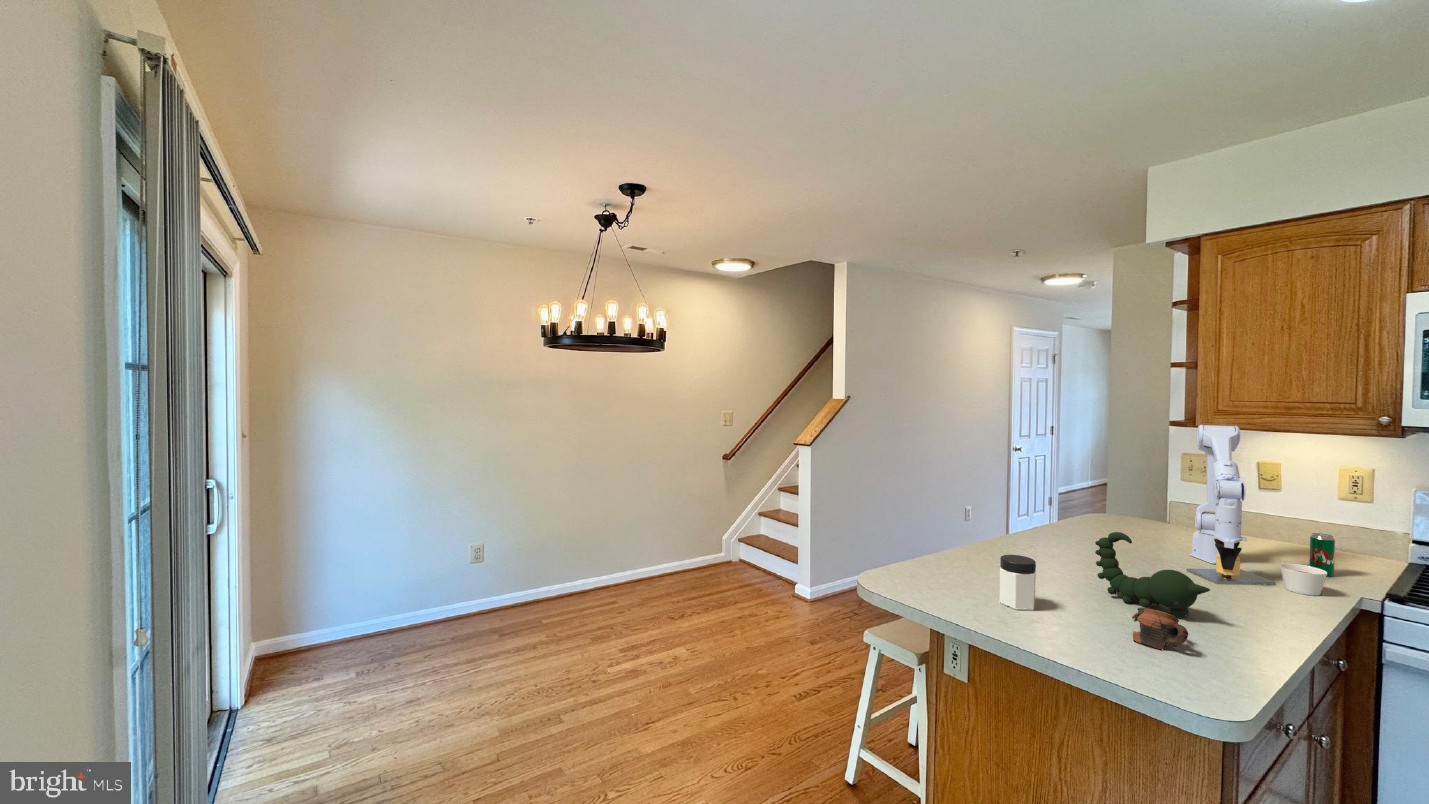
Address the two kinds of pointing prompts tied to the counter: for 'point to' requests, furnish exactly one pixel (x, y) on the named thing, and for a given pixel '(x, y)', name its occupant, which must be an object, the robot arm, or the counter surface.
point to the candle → (1303, 578)
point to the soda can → (1322, 552)
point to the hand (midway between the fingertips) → (1226, 567)
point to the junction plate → (1232, 580)
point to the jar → (1017, 581)
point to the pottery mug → (1158, 629)
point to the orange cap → (1230, 572)
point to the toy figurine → (1147, 582)
